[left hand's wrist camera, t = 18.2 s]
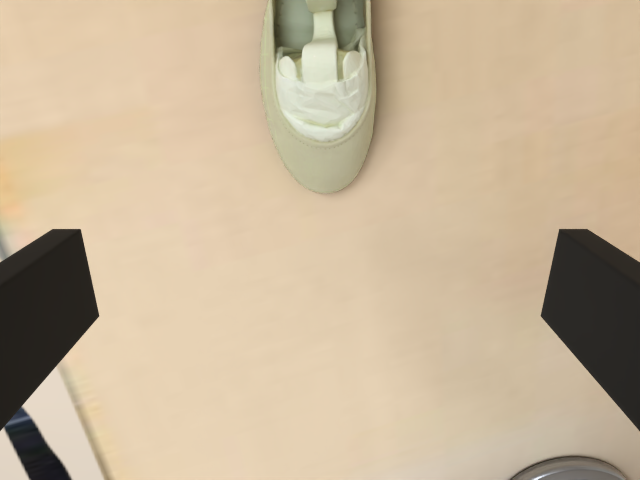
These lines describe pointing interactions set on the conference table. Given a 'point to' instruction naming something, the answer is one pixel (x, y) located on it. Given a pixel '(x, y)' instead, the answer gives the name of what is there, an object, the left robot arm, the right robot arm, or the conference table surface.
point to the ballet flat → (319, 88)
